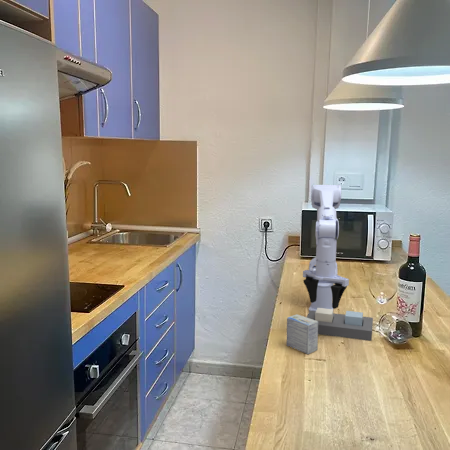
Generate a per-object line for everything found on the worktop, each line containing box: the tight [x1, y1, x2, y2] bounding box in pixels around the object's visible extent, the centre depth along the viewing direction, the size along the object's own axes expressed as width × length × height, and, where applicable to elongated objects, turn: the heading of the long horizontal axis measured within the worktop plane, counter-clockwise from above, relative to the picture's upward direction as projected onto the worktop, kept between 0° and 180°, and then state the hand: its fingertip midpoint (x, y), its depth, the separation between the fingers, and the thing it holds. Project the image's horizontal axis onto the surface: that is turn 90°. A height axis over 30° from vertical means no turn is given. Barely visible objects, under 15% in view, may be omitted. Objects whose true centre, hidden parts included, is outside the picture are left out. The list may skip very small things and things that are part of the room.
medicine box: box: [286, 313, 319, 355], centre depth 131 cm, size 8×4×9 cm, turn 41°
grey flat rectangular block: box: [306, 310, 374, 342], centre depth 145 cm, size 12×20×3 cm, turn 71°
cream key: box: [315, 308, 334, 323], centre depth 147 cm, size 5×5×3 cm
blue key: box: [344, 310, 364, 326], centre depth 144 cm, size 5×5×3 cm
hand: (324, 304), depth 139 cm, fingers open, 7 cm apart
